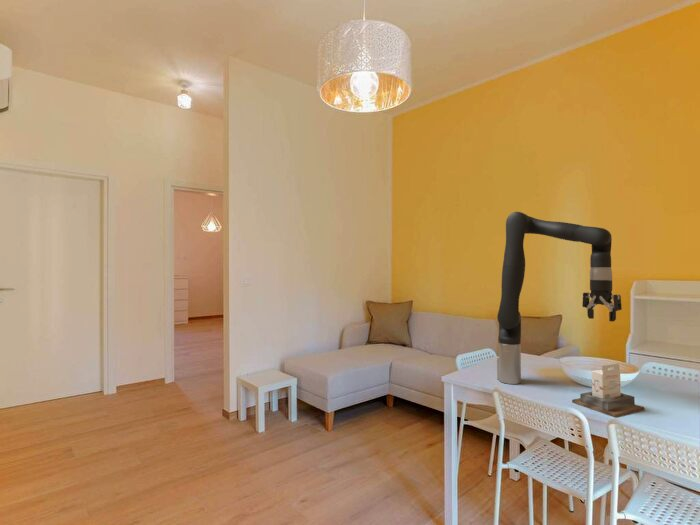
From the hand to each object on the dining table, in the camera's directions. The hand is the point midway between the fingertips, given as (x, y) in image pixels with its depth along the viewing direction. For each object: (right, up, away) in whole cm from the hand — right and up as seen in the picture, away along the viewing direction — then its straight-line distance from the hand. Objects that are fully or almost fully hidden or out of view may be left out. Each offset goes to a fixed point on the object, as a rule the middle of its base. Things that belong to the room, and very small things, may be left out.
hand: (601, 319), depth 156 cm
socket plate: (-5, -30, -11) cm, 32 cm away
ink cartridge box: (-5, -29, -11) cm, 32 cm away
